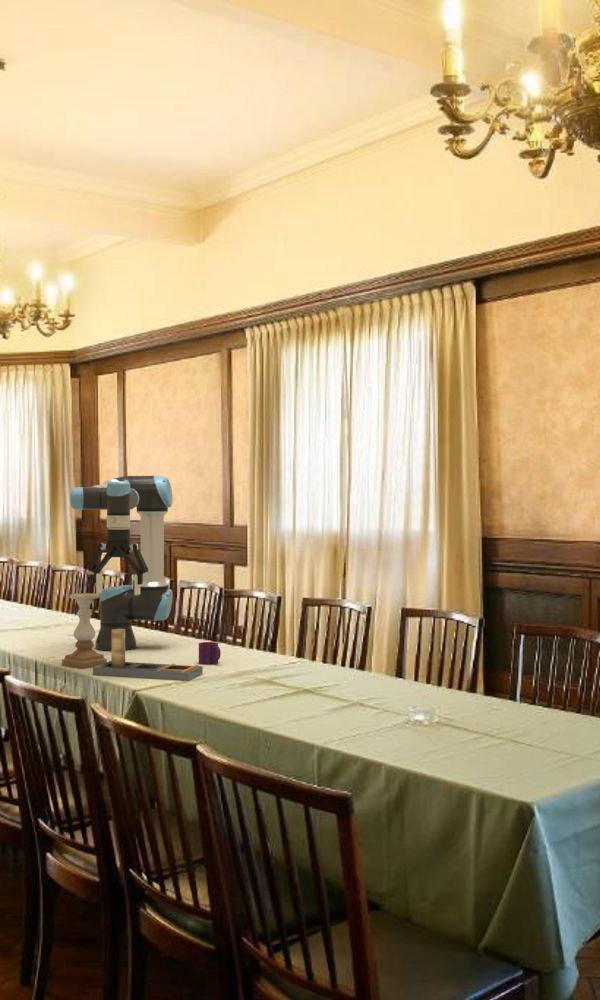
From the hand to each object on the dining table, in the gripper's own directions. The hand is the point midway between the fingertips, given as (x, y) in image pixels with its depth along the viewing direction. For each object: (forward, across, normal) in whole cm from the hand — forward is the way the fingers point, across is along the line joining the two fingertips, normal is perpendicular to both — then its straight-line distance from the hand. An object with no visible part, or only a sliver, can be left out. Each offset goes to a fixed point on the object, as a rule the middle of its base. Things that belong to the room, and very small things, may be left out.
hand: (118, 594), depth 328 cm
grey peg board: (+26, +10, 0) cm, 28 cm away
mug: (+26, +22, +25) cm, 43 cm away
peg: (+26, 0, 0) cm, 26 cm away
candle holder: (+26, -18, +10) cm, 33 cm away
